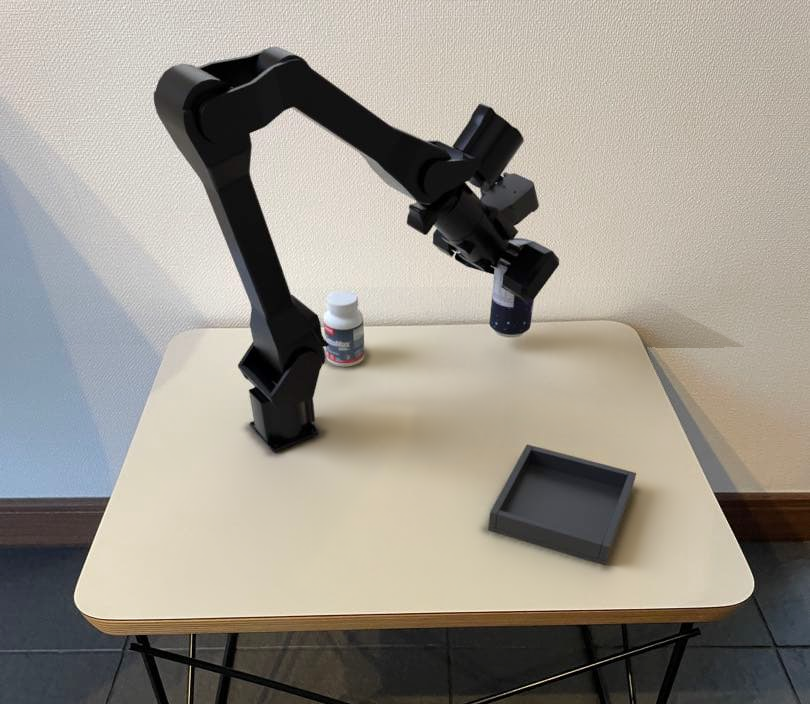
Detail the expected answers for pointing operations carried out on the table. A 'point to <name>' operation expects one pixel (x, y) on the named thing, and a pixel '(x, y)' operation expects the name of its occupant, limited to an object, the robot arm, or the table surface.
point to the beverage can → (509, 304)
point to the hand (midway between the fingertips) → (522, 282)
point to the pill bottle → (344, 329)
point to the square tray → (563, 503)
